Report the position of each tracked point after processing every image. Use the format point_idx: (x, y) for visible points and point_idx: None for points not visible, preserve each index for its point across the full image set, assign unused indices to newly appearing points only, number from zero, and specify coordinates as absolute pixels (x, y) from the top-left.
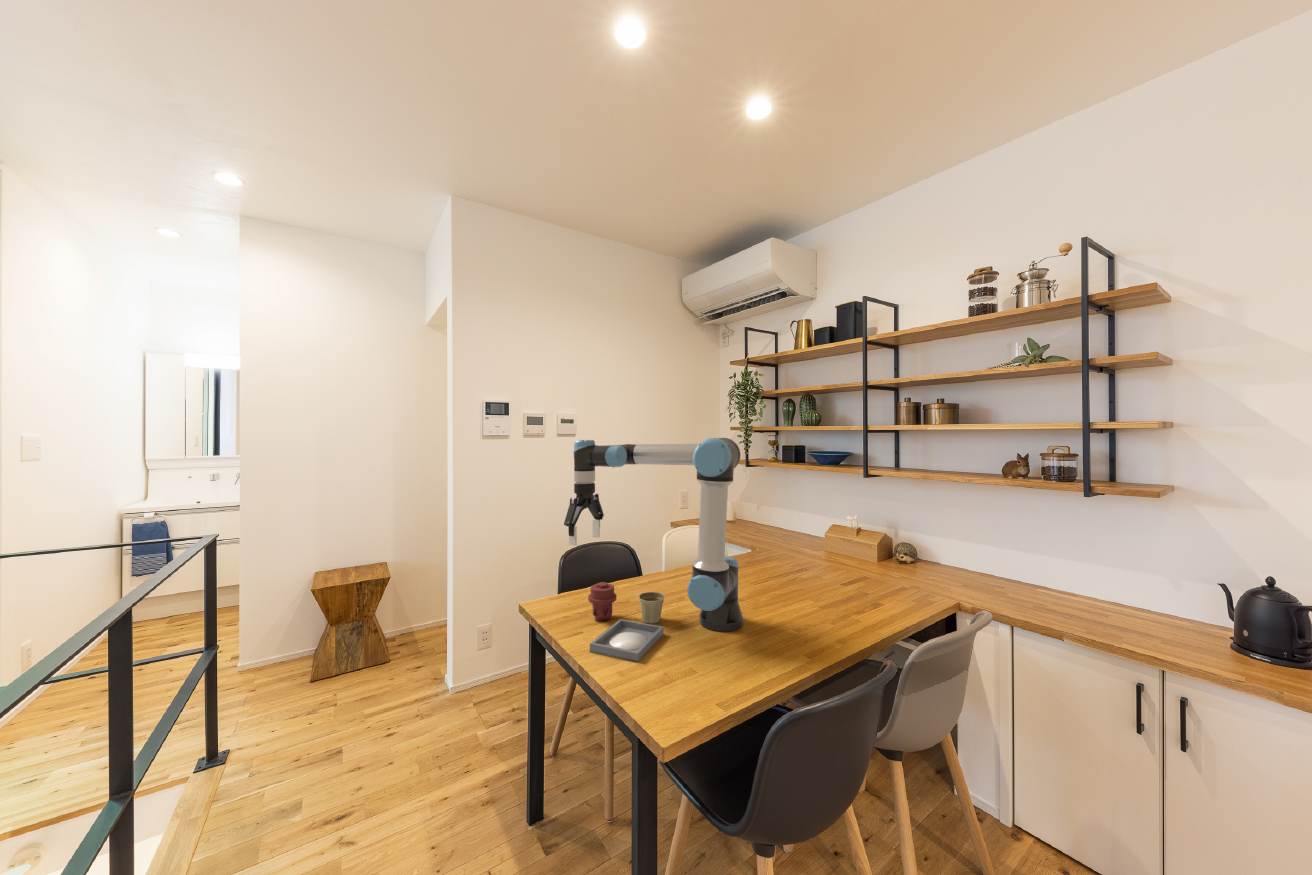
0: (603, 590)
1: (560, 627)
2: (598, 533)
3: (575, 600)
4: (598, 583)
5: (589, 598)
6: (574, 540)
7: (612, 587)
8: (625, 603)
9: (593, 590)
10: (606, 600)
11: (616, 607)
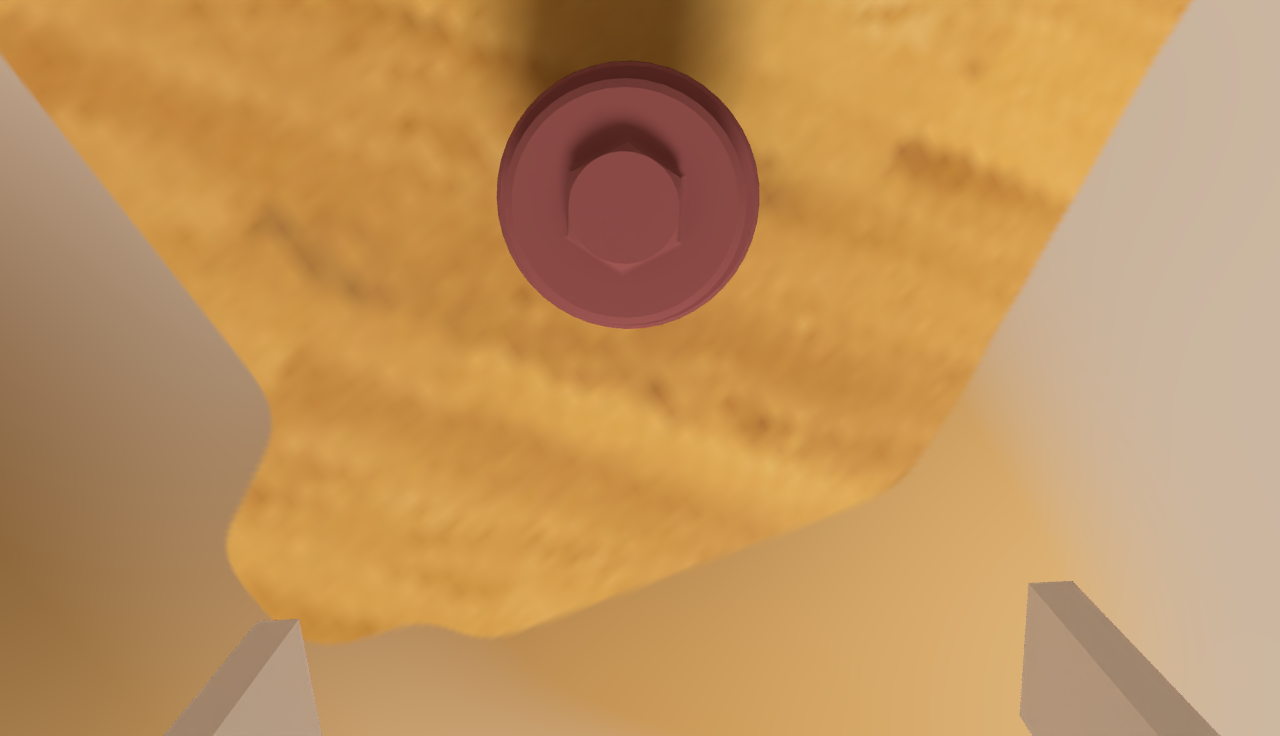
0: (707, 122)
1: (913, 335)
2: (258, 675)
3: (492, 566)
4: (637, 252)
5: (743, 258)
6: (1127, 659)
7: (587, 96)
8: (305, 219)
9: (743, 224)
10: (703, 86)
11: (412, 229)
